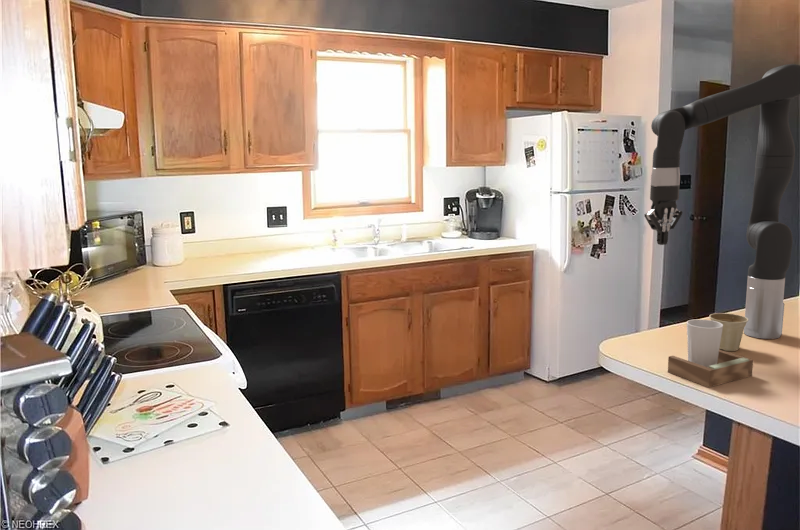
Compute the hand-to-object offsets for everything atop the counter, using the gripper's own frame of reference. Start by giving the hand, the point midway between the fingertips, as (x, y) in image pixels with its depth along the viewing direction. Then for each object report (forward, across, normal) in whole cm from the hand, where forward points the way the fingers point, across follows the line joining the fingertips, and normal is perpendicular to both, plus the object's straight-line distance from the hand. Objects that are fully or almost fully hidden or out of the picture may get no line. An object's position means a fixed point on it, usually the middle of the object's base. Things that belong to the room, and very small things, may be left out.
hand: (662, 244), depth 176 cm
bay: (+27, +15, +29) cm, 43 cm away
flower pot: (+27, -6, +18) cm, 33 cm away
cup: (+27, +14, +27) cm, 41 cm away
